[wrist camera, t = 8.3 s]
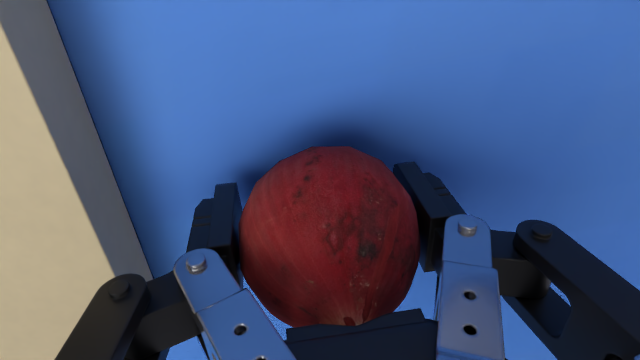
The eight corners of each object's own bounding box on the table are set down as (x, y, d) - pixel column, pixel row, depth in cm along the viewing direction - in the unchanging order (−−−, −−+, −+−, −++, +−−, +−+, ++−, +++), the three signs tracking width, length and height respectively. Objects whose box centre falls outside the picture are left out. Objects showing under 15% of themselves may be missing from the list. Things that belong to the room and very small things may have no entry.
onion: (278, 85, 14) (300, 225, 7) (410, 143, 16) (523, 295, 9) (220, 211, 16) (197, 404, 10) (341, 248, 18) (392, 429, 12)
